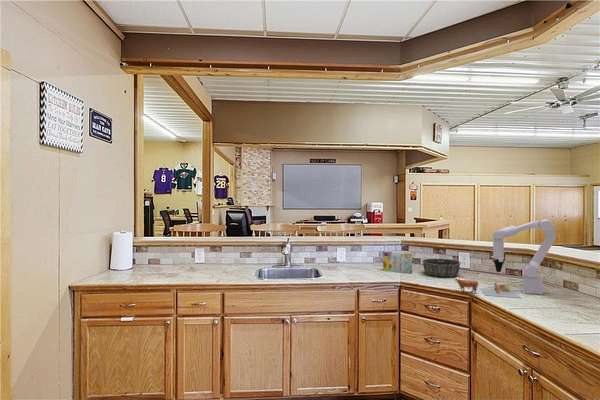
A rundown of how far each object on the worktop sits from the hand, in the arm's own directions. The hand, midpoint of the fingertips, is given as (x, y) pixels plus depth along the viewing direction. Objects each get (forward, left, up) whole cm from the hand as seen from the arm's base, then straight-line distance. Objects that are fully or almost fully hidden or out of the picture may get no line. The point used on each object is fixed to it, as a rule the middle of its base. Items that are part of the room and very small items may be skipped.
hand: (498, 271), depth 223 cm
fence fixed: (-1, +8, -10) cm, 13 cm away
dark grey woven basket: (+31, -34, -11) cm, 47 cm away
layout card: (+2, +12, -10) cm, 16 cm away
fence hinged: (+3, +12, -10) cm, 16 cm away
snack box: (+62, -37, -11) cm, 73 cm away
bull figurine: (+20, +14, -11) cm, 27 cm away
